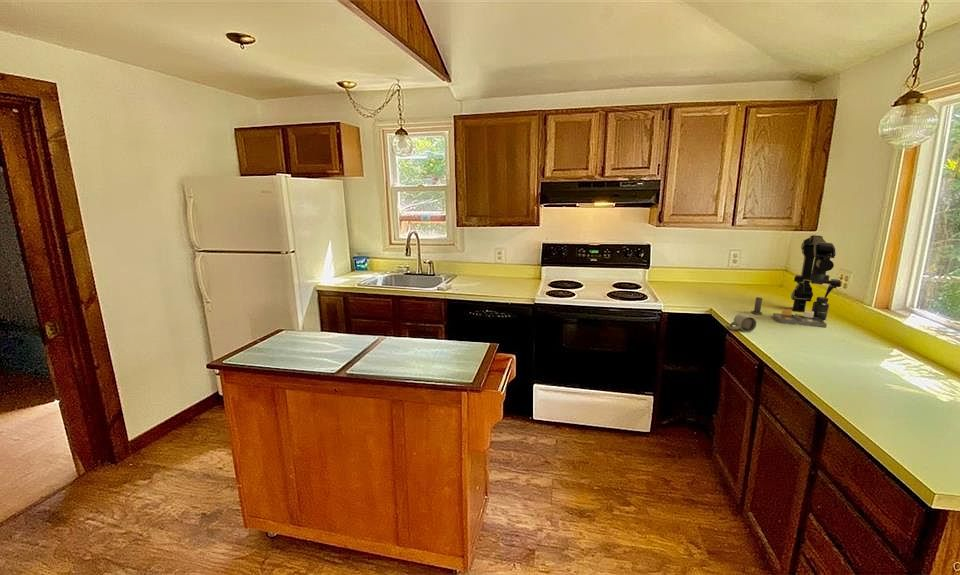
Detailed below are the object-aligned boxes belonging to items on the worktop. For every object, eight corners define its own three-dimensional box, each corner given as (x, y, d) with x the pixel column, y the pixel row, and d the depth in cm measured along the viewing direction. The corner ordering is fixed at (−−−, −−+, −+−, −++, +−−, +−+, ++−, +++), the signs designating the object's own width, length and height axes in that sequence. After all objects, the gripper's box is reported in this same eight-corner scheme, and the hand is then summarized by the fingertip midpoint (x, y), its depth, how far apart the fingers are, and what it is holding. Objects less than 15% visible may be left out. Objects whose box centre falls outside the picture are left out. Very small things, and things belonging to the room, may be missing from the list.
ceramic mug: (746, 326, 213) (748, 312, 212) (755, 332, 205) (758, 317, 204) (724, 326, 214) (726, 312, 212) (733, 332, 206) (735, 316, 204)
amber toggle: (781, 313, 228) (782, 308, 228) (789, 314, 227) (790, 308, 227) (782, 314, 227) (783, 309, 226) (790, 315, 225) (791, 309, 225)
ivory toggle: (803, 315, 225) (804, 310, 225) (811, 316, 224) (812, 310, 223) (804, 316, 223) (806, 311, 223) (813, 317, 222) (814, 311, 222)
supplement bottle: (819, 321, 224) (824, 299, 221) (806, 317, 231) (811, 296, 228) (829, 320, 226) (833, 298, 223) (816, 316, 232) (820, 295, 230)
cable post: (750, 311, 240) (752, 296, 238) (760, 312, 238) (763, 297, 236) (752, 314, 235) (755, 298, 233) (763, 315, 233) (766, 299, 231)
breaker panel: (772, 316, 232) (773, 311, 231) (816, 320, 225) (817, 315, 225) (779, 322, 221) (780, 317, 220) (826, 327, 214) (827, 322, 214)
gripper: (796, 267, 215) (790, 297, 219) (844, 272, 204) (837, 303, 208) (797, 264, 224) (791, 292, 228) (843, 268, 213) (836, 298, 216)
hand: (813, 296), depth 220 cm, fingers open, 9 cm apart
